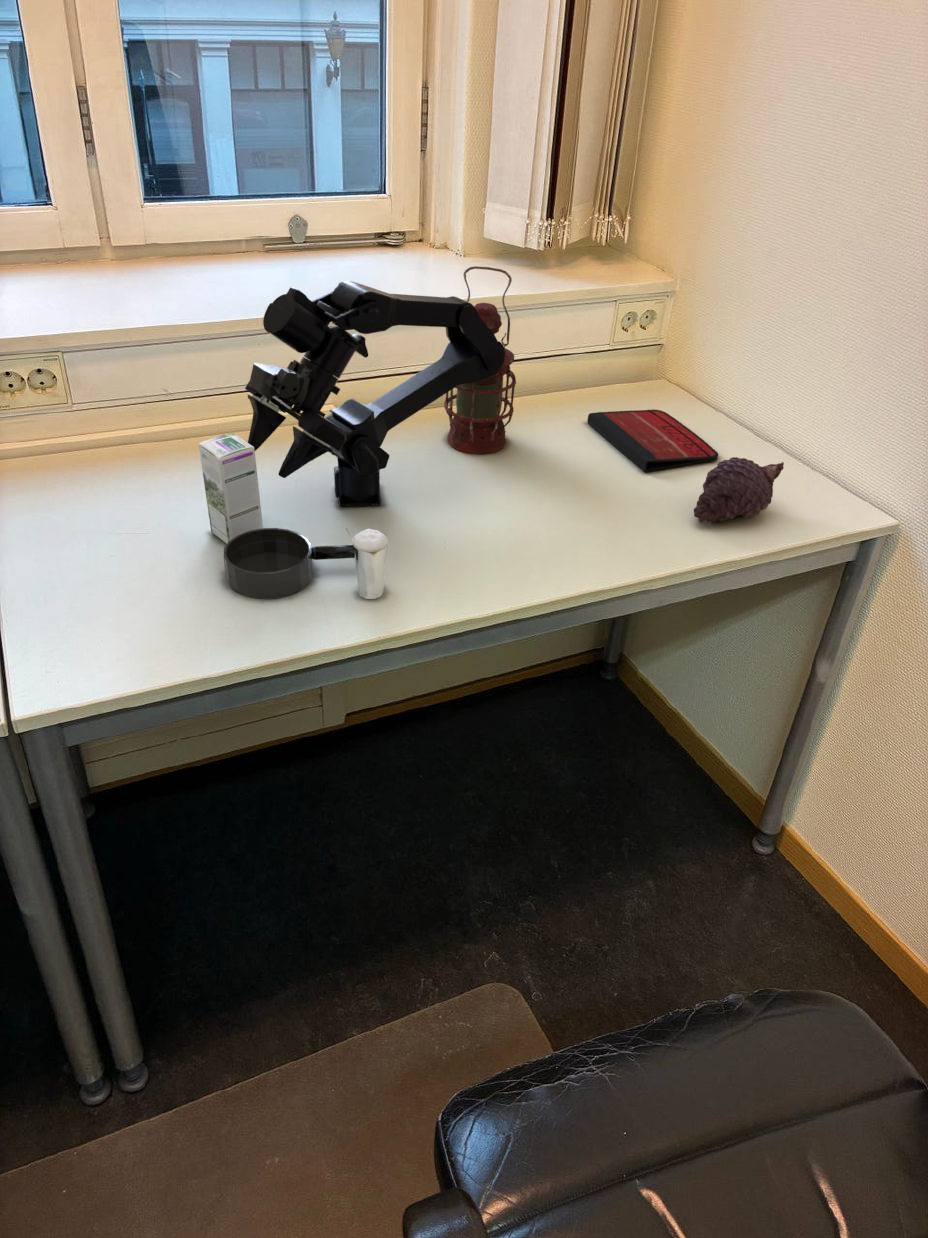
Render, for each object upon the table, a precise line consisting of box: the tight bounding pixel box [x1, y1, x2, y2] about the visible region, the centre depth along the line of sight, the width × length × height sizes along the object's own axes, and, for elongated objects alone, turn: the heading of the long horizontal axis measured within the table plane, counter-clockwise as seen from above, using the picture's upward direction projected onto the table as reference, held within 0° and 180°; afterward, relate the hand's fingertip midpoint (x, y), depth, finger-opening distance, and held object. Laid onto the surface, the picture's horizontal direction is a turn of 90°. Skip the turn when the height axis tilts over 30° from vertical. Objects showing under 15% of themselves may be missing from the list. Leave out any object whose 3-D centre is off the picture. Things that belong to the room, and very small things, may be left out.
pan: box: [222, 527, 314, 600], centre depth 125 cm, size 12×12×4 cm
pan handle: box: [312, 544, 355, 561], centre depth 125 cm, size 10×2×2 cm, turn 99°
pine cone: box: [693, 456, 785, 523], centre depth 144 cm, size 18×10×10 cm
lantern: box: [443, 265, 517, 455], centre depth 154 cm, size 12×12×30 cm
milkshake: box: [345, 527, 389, 600], centre depth 120 cm, size 4×5×10 cm
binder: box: [586, 409, 719, 473], centre depth 166 cm, size 16×2×21 cm
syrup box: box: [198, 432, 264, 545], centre depth 129 cm, size 6×6×14 cm
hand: (264, 463), depth 130 cm, fingers open, 9 cm apart
